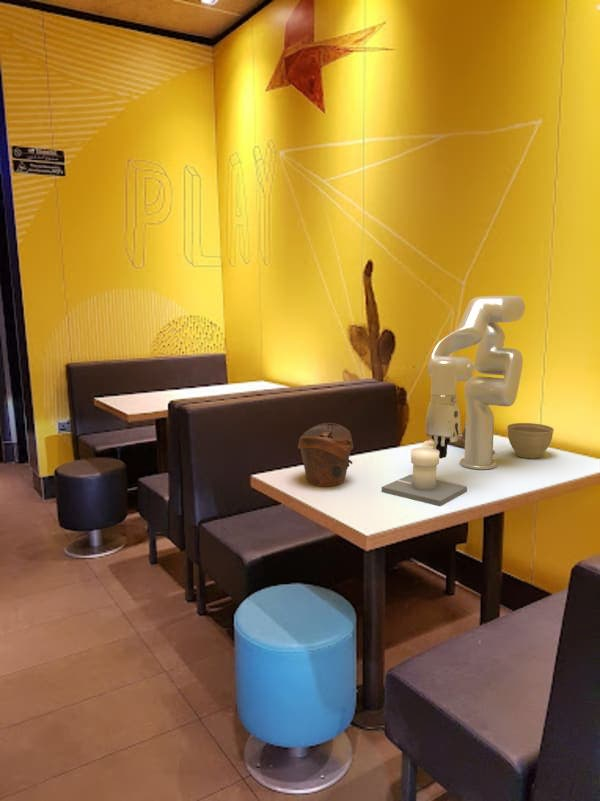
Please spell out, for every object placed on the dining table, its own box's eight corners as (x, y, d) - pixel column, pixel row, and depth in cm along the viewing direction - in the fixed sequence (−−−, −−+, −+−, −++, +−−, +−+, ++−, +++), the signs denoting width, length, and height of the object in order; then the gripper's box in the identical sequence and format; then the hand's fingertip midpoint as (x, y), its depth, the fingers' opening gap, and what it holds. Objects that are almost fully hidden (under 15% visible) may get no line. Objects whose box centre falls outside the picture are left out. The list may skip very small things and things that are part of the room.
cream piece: (437, 468, 177) (437, 454, 176) (408, 466, 179) (409, 451, 179) (444, 453, 193) (444, 440, 193) (418, 451, 196) (418, 438, 195)
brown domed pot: (312, 493, 182) (312, 436, 179) (289, 476, 200) (289, 423, 198) (364, 487, 189) (365, 431, 186) (336, 470, 207) (337, 420, 204)
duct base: (410, 478, 196) (410, 452, 195) (466, 491, 183) (468, 463, 182) (381, 491, 184) (381, 463, 182) (440, 506, 171) (441, 475, 169)
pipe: (450, 441, 246) (451, 417, 244) (482, 450, 232) (483, 424, 230) (439, 443, 243) (440, 419, 241) (471, 452, 229) (472, 427, 227)
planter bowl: (497, 455, 224) (499, 427, 222) (519, 448, 235) (520, 421, 233) (539, 464, 212) (540, 434, 210) (559, 455, 223) (561, 427, 221)
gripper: (471, 401, 180) (468, 459, 183) (430, 395, 191) (428, 450, 194) (457, 404, 175) (454, 464, 178) (415, 398, 186) (414, 455, 189)
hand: (441, 457), depth 186 cm, fingers closed
